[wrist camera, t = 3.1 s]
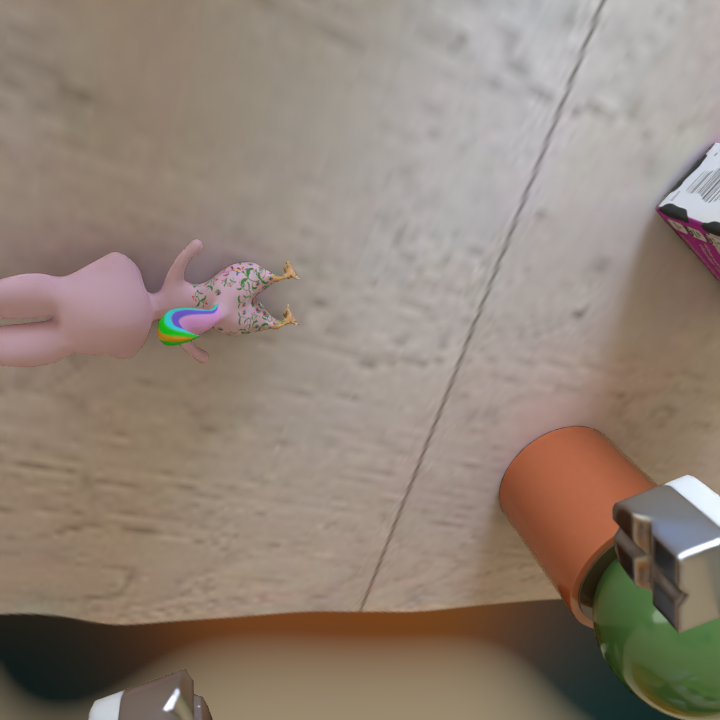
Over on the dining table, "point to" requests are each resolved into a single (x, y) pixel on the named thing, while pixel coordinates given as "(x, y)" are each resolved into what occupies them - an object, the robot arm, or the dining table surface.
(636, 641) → the potted herb
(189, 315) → the rabbit figure
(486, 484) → the dining table surface
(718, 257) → the candy bar box
